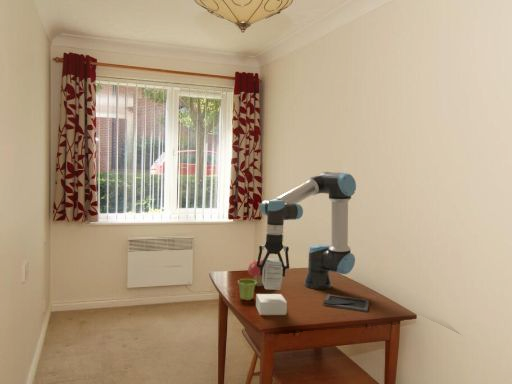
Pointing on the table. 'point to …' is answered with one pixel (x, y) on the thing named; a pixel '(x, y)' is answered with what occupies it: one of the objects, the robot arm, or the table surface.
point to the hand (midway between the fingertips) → (271, 282)
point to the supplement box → (272, 274)
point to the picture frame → (346, 303)
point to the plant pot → (246, 288)
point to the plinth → (271, 304)
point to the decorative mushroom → (256, 272)
